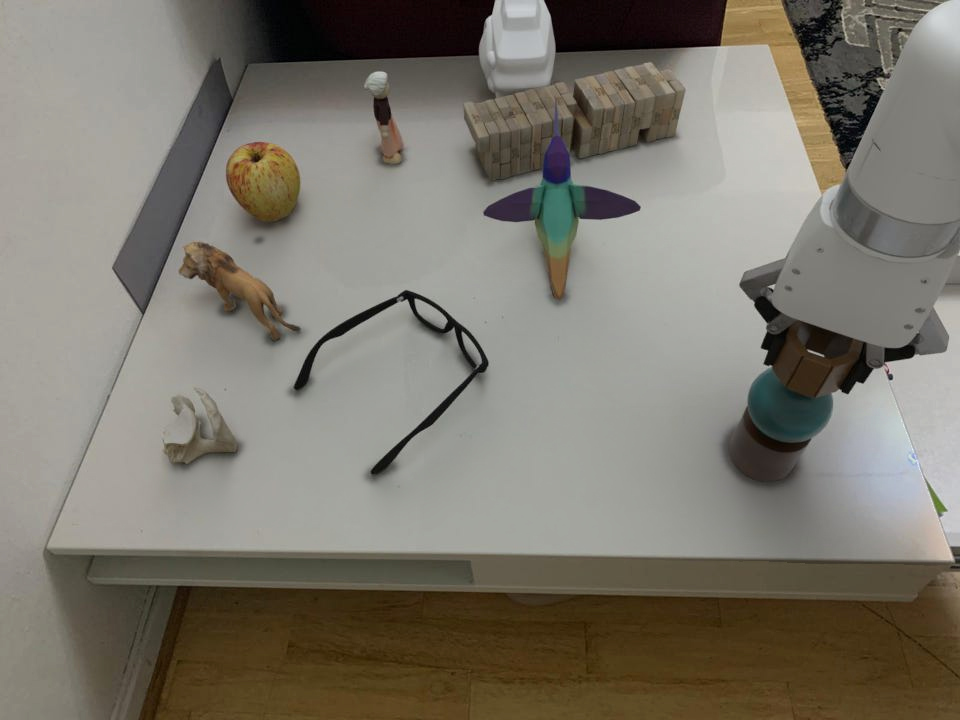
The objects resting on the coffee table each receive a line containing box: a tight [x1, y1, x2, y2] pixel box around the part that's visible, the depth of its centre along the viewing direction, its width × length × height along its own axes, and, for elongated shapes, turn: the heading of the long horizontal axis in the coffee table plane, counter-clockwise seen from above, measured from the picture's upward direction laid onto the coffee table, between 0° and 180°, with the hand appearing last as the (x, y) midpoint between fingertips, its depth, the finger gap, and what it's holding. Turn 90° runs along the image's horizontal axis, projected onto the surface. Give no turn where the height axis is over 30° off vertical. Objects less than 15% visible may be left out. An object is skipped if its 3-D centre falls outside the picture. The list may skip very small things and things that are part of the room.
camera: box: [478, 0, 556, 98], centre depth 104 cm, size 11×18×16 cm, turn 0°
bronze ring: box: [771, 320, 864, 398], centre depth 60 cm, size 6×6×4 cm
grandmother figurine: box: [363, 71, 404, 165], centre depth 99 cm, size 8×4×13 cm, turn 22°
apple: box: [225, 141, 301, 222], centre depth 94 cm, size 9×9×10 cm
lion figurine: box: [178, 241, 302, 341], centre depth 84 cm, size 15×5×9 cm, turn 62°
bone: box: [162, 386, 238, 465], centre depth 75 cm, size 9×6×10 cm
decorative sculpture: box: [482, 98, 642, 301], centre depth 86 cm, size 17×18×15 cm
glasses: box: [293, 289, 490, 476], centre depth 79 cm, size 17×18×5 cm
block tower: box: [463, 61, 687, 181], centre depth 100 cm, size 8×8×29 cm
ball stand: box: [728, 366, 834, 483], centre depth 68 cm, size 7×7×13 cm
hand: (809, 365), depth 61 cm, fingers closed on bronze ring, 5 cm apart
